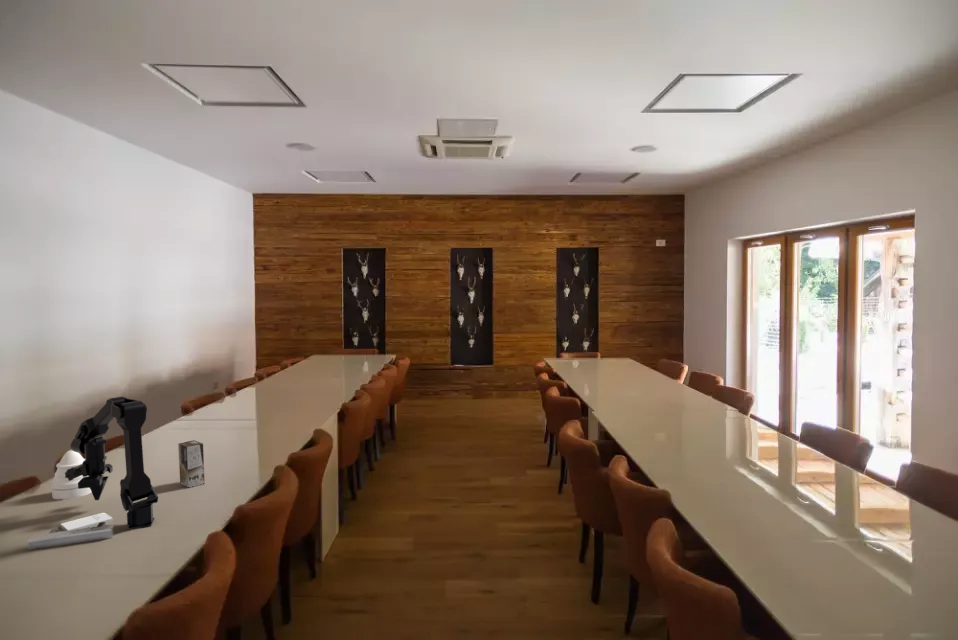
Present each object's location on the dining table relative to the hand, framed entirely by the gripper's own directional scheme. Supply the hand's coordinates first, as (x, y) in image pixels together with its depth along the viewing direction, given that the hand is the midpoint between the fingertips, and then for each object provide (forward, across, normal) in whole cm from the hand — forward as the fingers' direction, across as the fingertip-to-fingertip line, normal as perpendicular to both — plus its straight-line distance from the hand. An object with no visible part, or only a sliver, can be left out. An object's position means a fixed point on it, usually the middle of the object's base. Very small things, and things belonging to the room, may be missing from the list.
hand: (97, 499), depth 197 cm
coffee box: (+4, -17, +28) cm, 33 cm away
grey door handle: (+3, +25, 0) cm, 26 cm away
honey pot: (+4, -23, -13) cm, 27 cm away
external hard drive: (+4, +13, 0) cm, 14 cm away
